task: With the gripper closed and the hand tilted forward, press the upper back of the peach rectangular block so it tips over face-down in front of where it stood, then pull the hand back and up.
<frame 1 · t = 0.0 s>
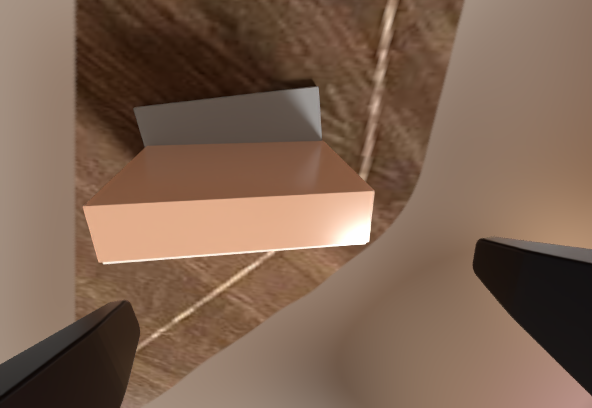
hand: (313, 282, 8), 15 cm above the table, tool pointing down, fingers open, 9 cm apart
peach rectangular block: (239, 161, 21), point 1 cm above the table, touching mat
mat: (241, 166, 22), on the table
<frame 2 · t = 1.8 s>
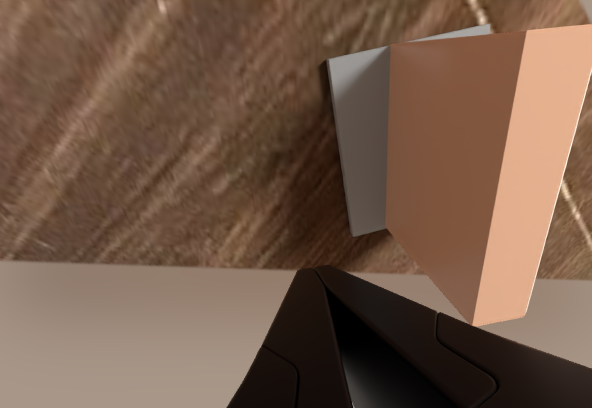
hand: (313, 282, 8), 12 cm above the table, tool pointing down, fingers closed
peach rectangular block: (406, 143, 20), point 1 cm above the table, touching mat
mat: (409, 139, 20), on the table
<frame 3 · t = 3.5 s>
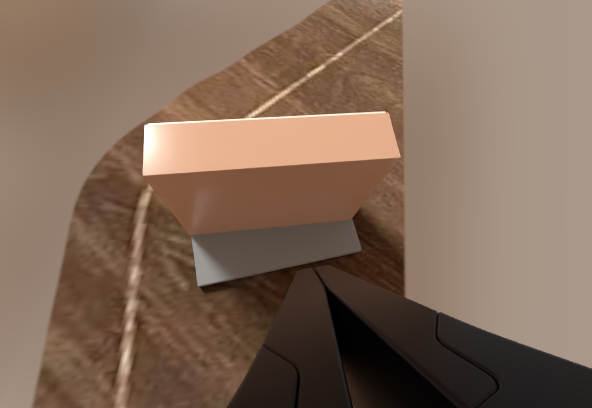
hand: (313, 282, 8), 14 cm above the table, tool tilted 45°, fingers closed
peach rectangular block: (271, 210, 23), point 1 cm above the table, touching mat
mat: (269, 207, 23), on the table
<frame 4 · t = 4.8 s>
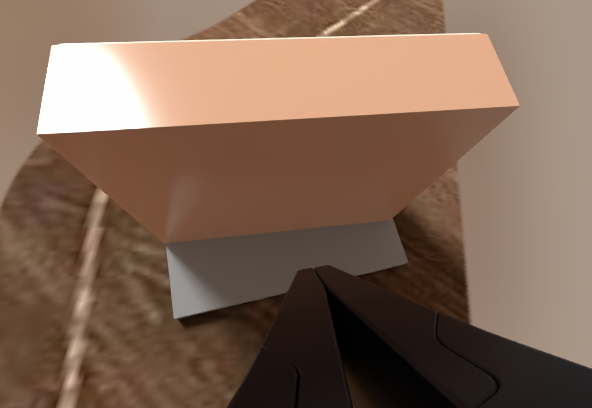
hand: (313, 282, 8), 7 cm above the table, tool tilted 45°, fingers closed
peach rectangular block: (279, 208, 16), point 1 cm above the table, touching mat
mat: (276, 203, 17), on the table
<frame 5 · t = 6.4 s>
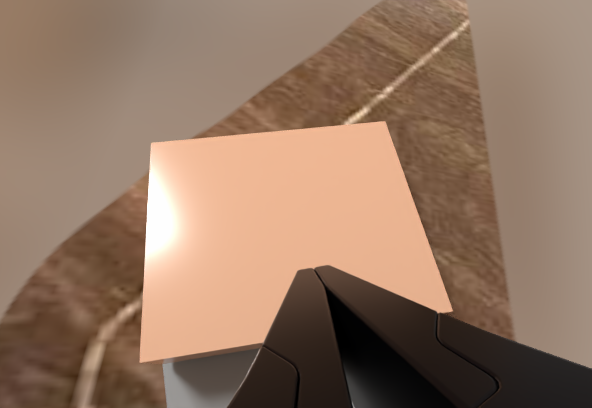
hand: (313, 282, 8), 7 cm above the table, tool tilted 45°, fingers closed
peach rectangular block: (302, 338, 12), point 2 cm above the table, tilted 96°, touching mat
mat: (300, 359, 14), on the table
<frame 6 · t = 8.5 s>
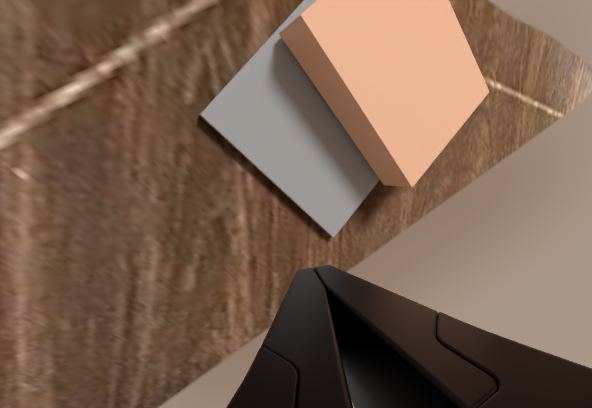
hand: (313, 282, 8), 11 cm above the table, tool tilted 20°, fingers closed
peach rectangular block: (349, 115, 18), point 2 cm above the table, tilted 96°, touching mat
mat: (318, 126, 20), on the table
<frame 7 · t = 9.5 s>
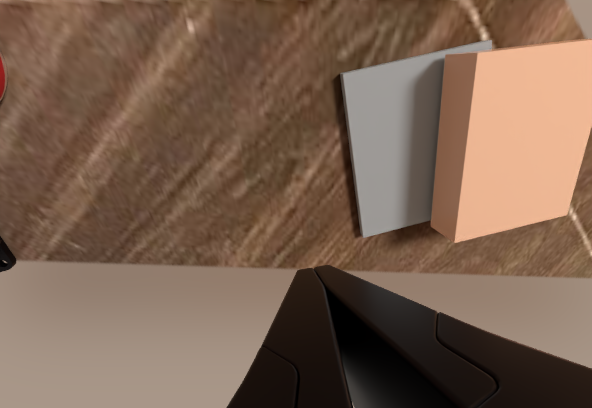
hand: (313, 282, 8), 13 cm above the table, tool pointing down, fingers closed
peach rectangular block: (450, 154, 19), point 2 cm above the table, tilted 96°, touching mat
mat: (416, 146, 21), on the table
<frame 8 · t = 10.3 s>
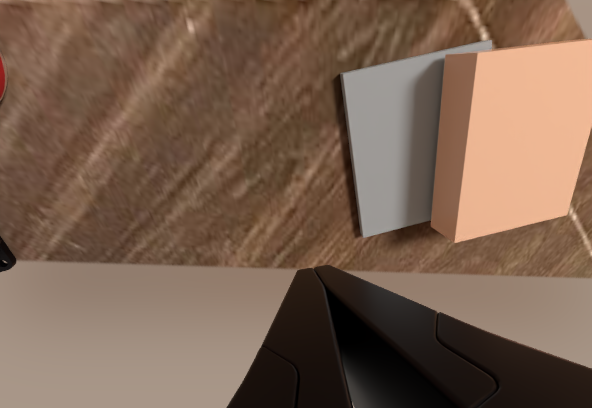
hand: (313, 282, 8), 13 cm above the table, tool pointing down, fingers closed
peach rectangular block: (450, 154, 19), point 2 cm above the table, tilted 96°, touching mat
mat: (416, 146, 21), on the table
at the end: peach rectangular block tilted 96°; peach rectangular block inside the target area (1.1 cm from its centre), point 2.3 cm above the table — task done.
